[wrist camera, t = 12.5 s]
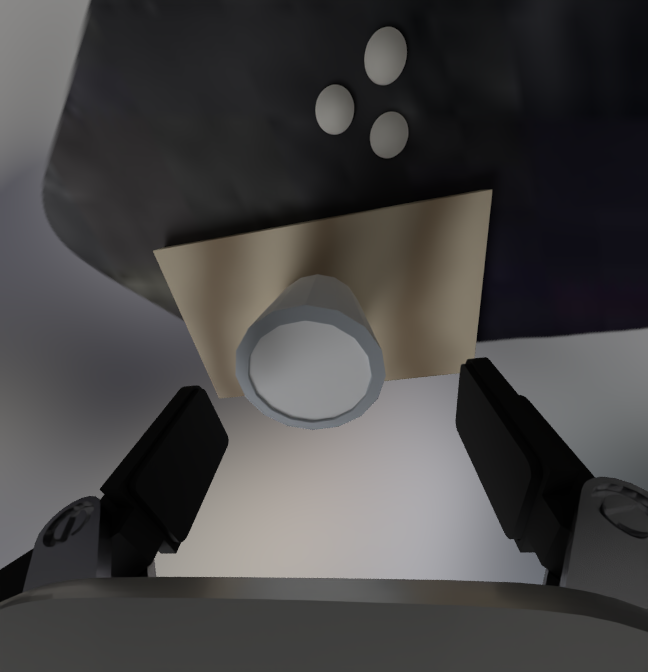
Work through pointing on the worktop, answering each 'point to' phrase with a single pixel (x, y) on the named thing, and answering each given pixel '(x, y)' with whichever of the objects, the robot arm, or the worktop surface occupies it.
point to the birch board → (345, 281)
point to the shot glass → (311, 356)
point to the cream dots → (382, 69)
